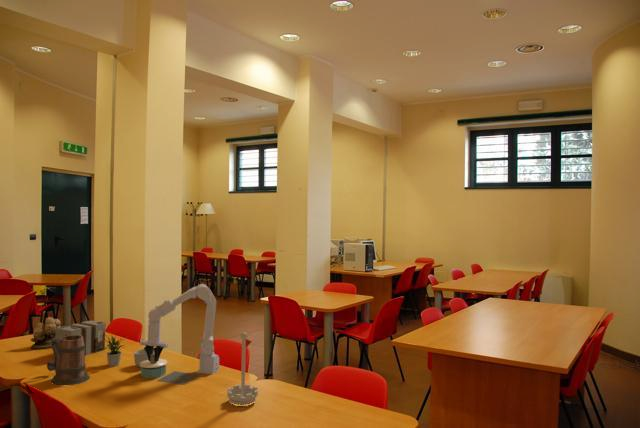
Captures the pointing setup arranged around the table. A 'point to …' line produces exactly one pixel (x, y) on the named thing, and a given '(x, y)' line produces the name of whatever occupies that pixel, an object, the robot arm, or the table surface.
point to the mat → (178, 378)
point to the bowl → (153, 372)
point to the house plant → (113, 351)
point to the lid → (153, 362)
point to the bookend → (86, 334)
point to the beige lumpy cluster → (45, 334)
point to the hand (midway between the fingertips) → (153, 361)
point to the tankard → (68, 361)
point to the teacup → (140, 356)
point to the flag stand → (243, 382)
